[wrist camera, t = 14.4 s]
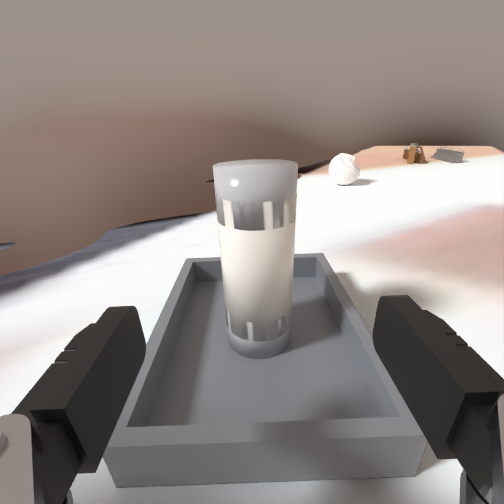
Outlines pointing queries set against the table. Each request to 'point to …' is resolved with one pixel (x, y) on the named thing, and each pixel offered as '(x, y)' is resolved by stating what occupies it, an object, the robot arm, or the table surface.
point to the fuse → (257, 252)
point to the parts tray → (262, 394)
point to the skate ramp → (440, 155)
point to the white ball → (343, 169)
